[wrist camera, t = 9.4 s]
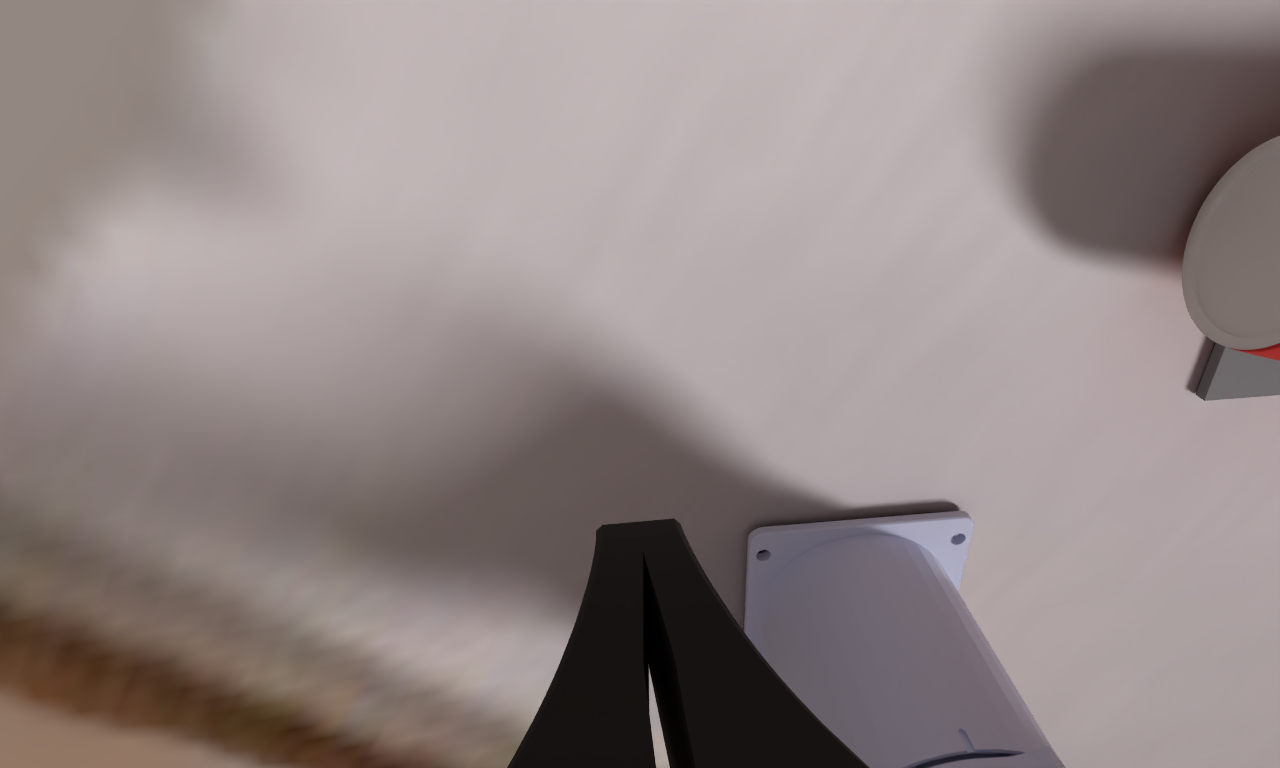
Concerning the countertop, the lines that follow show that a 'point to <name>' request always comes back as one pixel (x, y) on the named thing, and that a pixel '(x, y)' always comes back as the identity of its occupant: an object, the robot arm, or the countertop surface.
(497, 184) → the countertop surface
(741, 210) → the countertop surface
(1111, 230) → the countertop surface
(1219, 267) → the paper cup
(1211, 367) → the mat
